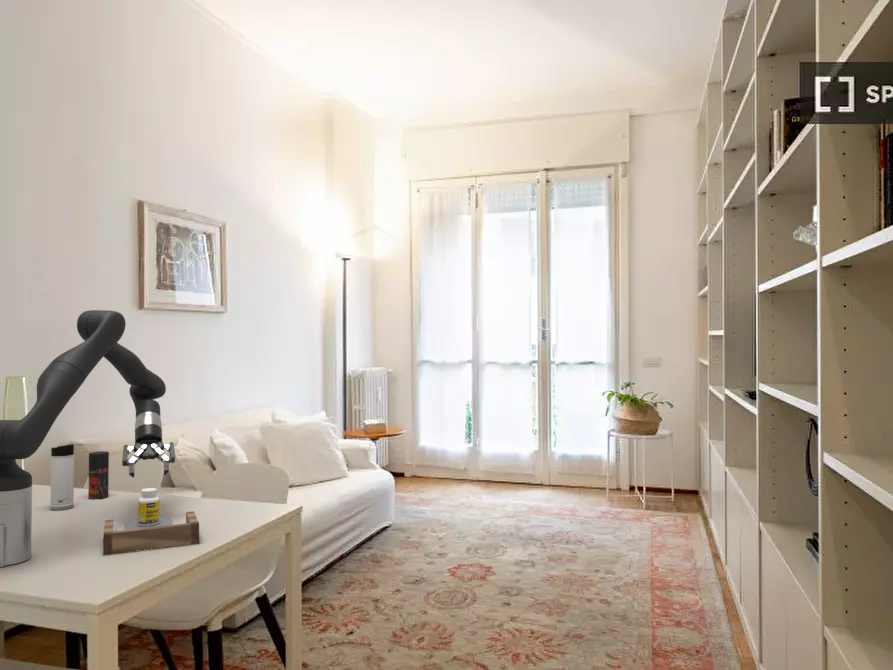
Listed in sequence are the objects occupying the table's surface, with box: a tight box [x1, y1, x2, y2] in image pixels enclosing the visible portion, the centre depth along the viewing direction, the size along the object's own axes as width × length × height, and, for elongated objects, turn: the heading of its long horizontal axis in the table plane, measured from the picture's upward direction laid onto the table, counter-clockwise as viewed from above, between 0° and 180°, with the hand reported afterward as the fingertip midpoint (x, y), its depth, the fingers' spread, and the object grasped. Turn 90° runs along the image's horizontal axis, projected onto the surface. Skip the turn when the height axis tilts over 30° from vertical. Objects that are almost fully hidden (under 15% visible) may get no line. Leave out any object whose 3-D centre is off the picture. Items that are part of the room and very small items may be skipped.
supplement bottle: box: [137, 487, 160, 526], centre depth 188 cm, size 5×5×10 cm
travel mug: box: [50, 443, 75, 511], centre depth 208 cm, size 6×7×20 cm
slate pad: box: [124, 516, 174, 530], centre depth 188 cm, size 12×12×1 cm
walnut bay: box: [102, 510, 200, 556], centre depth 173 cm, size 14×22×5 cm, turn 116°
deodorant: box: [87, 450, 110, 501], centre depth 223 cm, size 6×6×15 cm
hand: (149, 474), depth 193 cm, fingers open, 8 cm apart
